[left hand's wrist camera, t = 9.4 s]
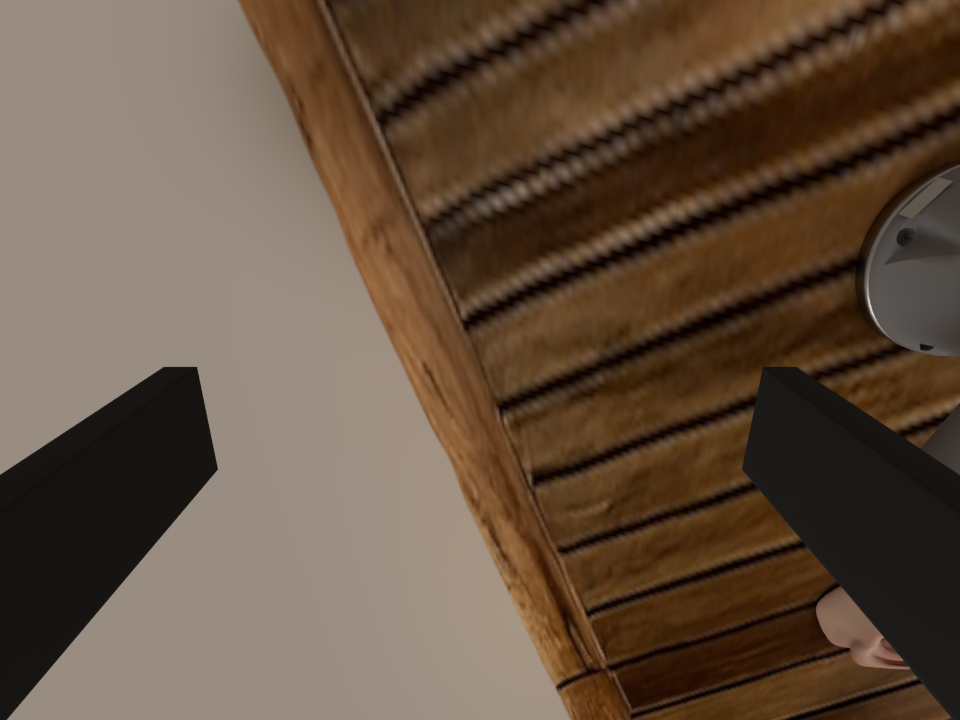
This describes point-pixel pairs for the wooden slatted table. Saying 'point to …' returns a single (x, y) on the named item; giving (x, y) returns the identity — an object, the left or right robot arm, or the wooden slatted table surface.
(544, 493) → the wooden slatted table surface
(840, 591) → the anatomical model
